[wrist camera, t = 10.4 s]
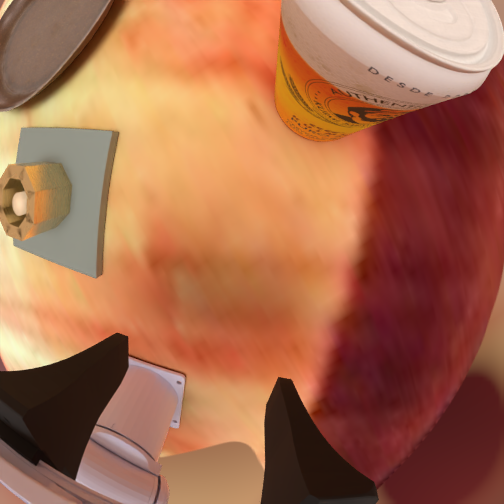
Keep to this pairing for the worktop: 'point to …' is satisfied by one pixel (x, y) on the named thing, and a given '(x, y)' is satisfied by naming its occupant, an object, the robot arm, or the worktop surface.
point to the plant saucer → (43, 43)
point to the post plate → (72, 194)
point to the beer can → (378, 59)
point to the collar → (34, 198)
